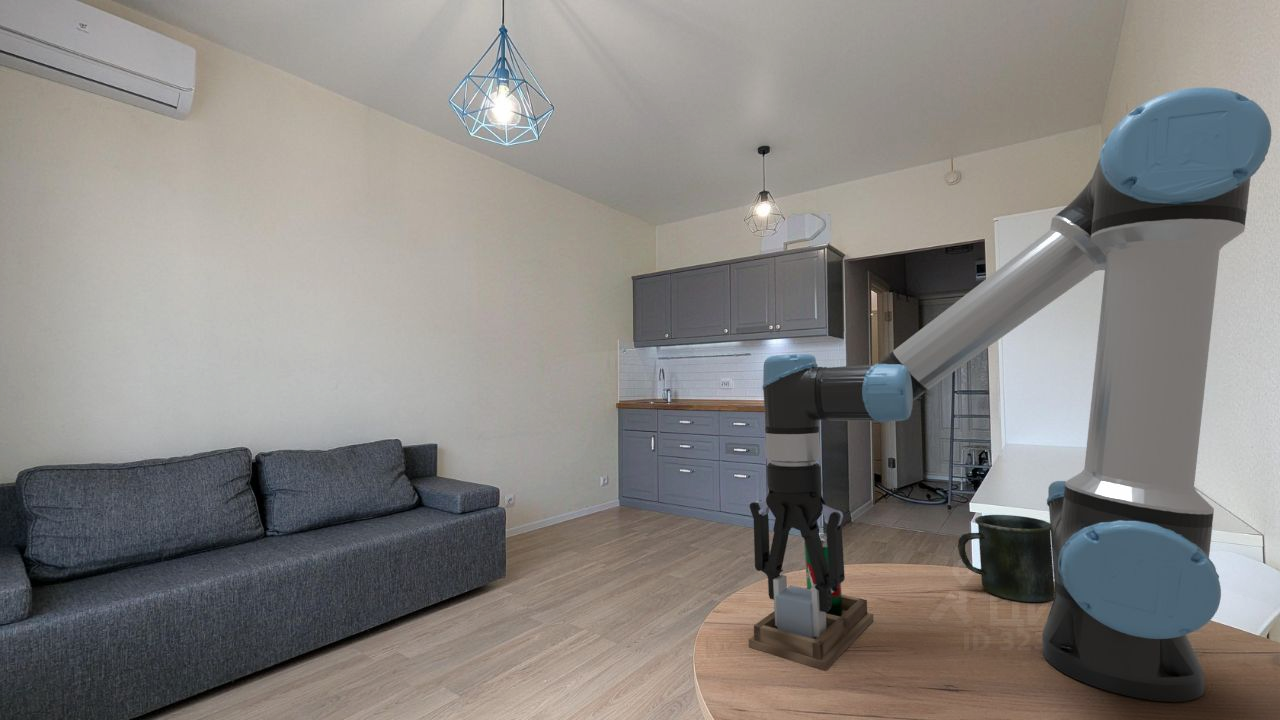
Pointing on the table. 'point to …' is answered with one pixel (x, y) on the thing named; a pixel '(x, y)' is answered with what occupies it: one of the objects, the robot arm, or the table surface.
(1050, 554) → the mug
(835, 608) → the soda can
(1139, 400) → the robot arm
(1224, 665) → the table surface
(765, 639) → the caddy
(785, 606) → the block
